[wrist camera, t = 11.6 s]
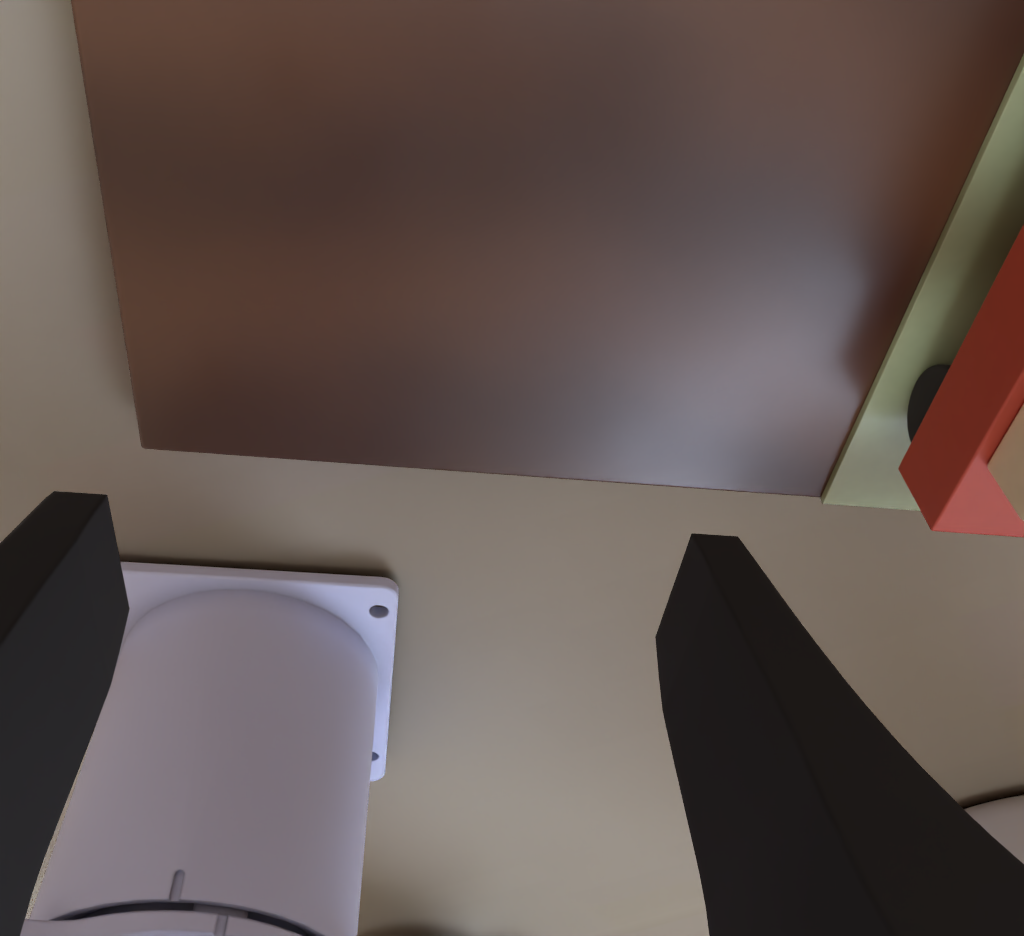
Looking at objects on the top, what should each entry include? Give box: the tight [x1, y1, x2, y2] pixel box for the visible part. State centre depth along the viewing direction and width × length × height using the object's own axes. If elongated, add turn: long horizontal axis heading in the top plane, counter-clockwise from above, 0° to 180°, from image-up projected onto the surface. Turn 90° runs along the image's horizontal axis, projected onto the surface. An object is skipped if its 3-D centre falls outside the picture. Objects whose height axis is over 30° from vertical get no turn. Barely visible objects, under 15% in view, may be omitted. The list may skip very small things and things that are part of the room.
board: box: [71, 0, 1024, 511], centre depth 19 cm, size 13×22×1 cm, turn 83°
